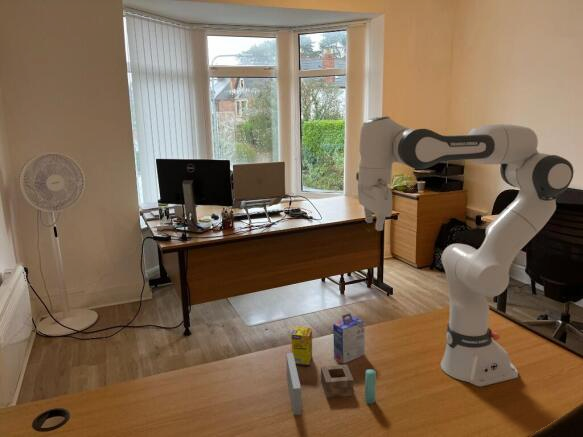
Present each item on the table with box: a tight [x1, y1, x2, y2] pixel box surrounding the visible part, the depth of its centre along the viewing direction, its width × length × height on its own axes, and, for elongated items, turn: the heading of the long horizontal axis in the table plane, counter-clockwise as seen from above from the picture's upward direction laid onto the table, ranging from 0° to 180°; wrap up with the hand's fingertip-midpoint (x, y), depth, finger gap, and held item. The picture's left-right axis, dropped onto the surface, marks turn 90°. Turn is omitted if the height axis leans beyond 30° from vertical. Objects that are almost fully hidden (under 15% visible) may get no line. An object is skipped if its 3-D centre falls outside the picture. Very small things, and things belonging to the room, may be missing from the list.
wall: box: [285, 352, 302, 416], centre depth 125 cm, size 2×18×8 cm, turn 7°
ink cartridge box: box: [332, 312, 366, 364], centre depth 144 cm, size 10×6×14 cm, turn 124°
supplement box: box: [290, 326, 313, 368], centre depth 141 cm, size 6×6×11 cm
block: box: [320, 364, 355, 399], centre depth 127 cm, size 8×8×5 cm
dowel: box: [364, 368, 377, 405], centre depth 121 cm, size 3×3×9 cm
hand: (373, 225), depth 122 cm, fingers open, 8 cm apart
